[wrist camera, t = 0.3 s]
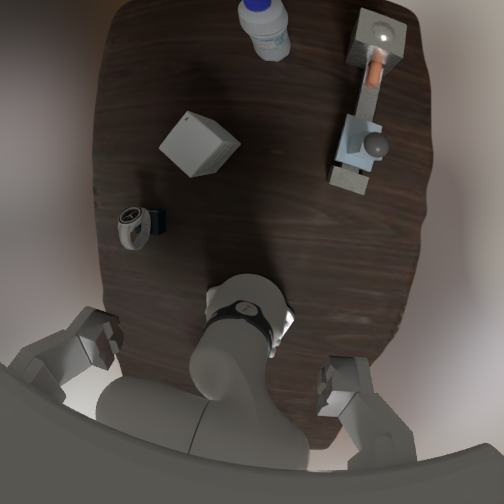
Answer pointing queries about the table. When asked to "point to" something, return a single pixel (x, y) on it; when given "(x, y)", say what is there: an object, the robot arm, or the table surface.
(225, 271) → the table surface
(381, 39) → the grey slide rail
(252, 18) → the bottle
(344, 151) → the ball-topped pillar
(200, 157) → the supplement box
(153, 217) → the watch
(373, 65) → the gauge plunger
